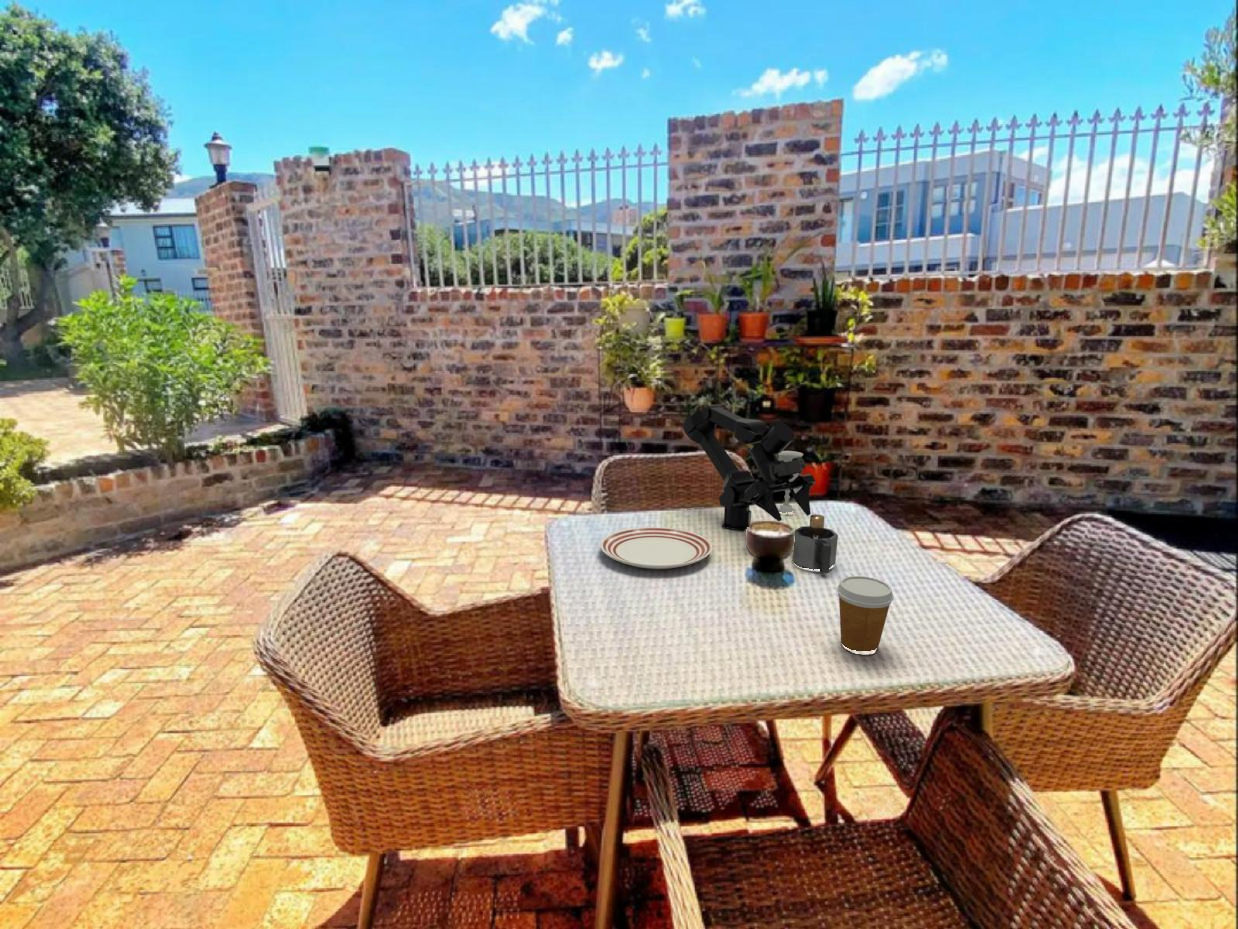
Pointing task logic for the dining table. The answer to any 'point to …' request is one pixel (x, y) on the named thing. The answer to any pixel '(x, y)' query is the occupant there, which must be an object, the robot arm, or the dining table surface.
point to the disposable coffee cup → (863, 611)
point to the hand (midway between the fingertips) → (794, 517)
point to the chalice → (787, 457)
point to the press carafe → (815, 549)
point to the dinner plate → (656, 547)
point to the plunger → (816, 525)
